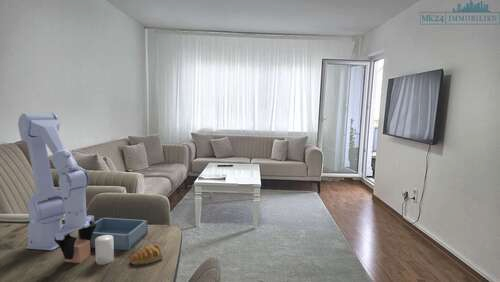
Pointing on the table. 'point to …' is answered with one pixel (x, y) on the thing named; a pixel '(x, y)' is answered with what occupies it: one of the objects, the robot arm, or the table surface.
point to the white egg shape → (104, 249)
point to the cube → (80, 251)
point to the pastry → (147, 255)
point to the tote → (120, 231)
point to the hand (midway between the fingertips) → (77, 252)
